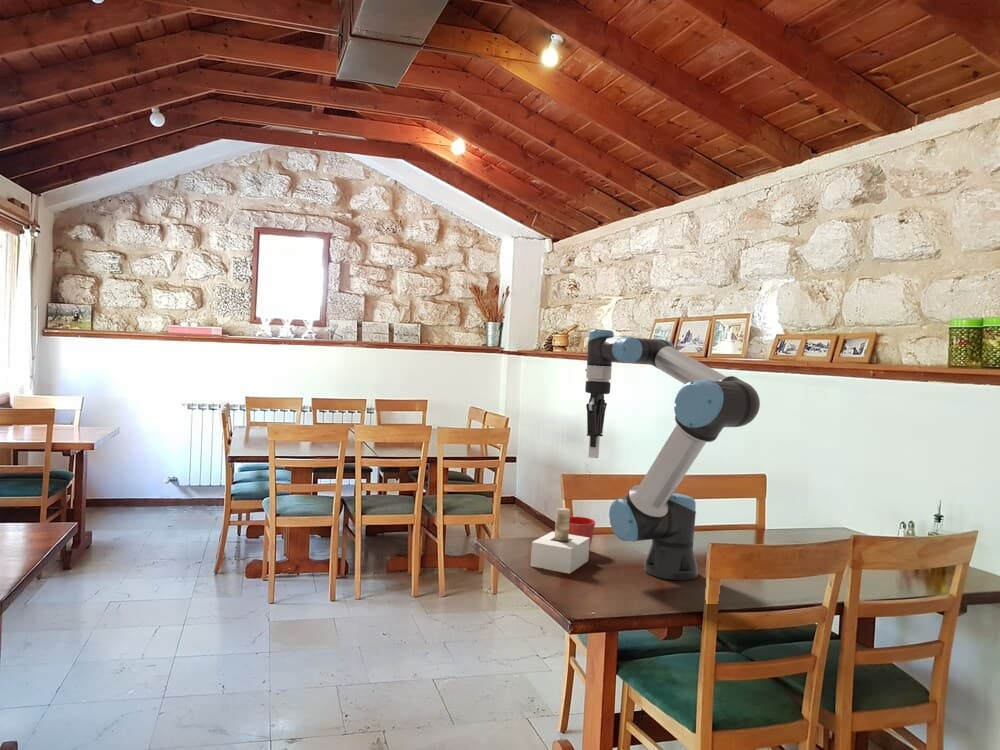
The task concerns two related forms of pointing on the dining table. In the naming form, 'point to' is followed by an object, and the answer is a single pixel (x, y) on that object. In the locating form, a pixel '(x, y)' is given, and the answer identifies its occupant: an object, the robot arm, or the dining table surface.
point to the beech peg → (562, 525)
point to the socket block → (560, 553)
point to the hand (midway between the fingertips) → (593, 457)
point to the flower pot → (581, 527)
